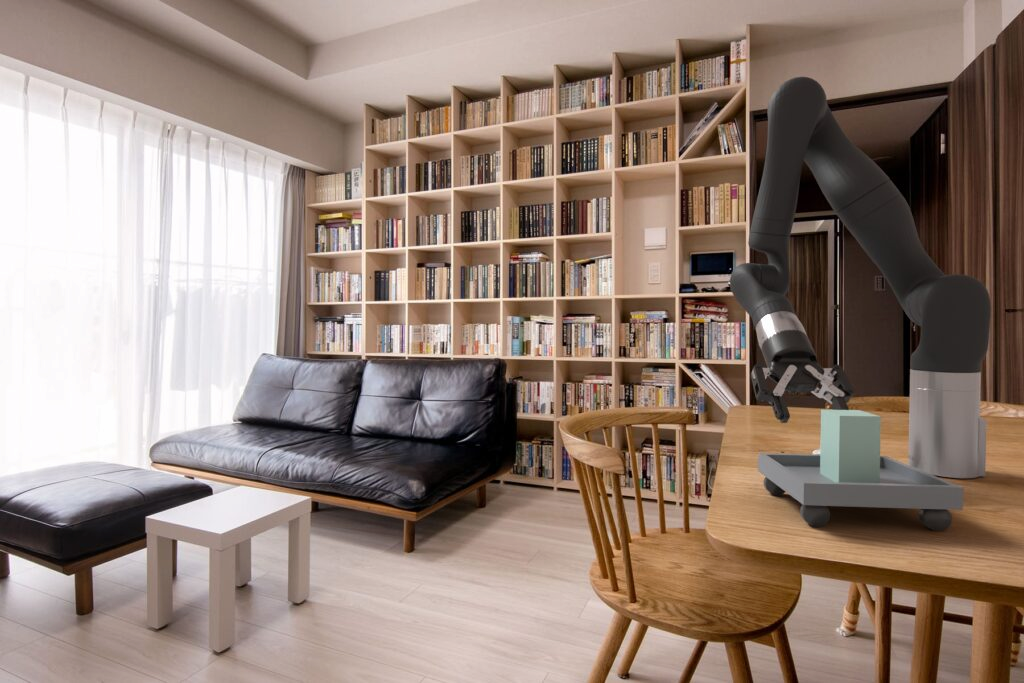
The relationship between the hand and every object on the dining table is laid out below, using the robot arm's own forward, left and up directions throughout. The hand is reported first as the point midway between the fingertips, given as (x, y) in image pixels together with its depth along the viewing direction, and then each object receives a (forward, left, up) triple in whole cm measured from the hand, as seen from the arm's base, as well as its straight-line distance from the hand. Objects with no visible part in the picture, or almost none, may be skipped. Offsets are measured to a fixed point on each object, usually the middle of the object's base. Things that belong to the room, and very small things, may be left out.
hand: (815, 420), depth 79 cm
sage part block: (0, +9, -6) cm, 11 cm away
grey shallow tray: (0, +10, -10) cm, 14 cm away
